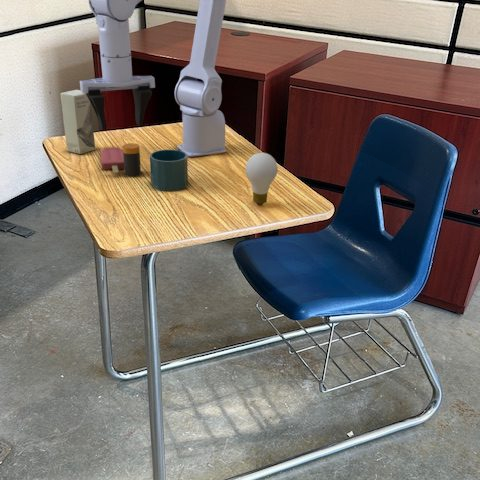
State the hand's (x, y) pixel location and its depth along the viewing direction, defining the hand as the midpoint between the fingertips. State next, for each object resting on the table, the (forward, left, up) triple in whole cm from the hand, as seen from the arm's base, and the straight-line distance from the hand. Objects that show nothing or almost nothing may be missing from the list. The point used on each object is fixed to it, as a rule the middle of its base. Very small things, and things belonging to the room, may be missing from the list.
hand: (121, 126), depth 123 cm
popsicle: (+1, -6, -10) cm, 11 cm away
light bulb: (-18, +26, -10) cm, 34 cm away
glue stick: (-1, +1, -10) cm, 10 cm away
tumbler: (-6, +10, -10) cm, 15 cm away
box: (+5, -18, -10) cm, 21 cm away
